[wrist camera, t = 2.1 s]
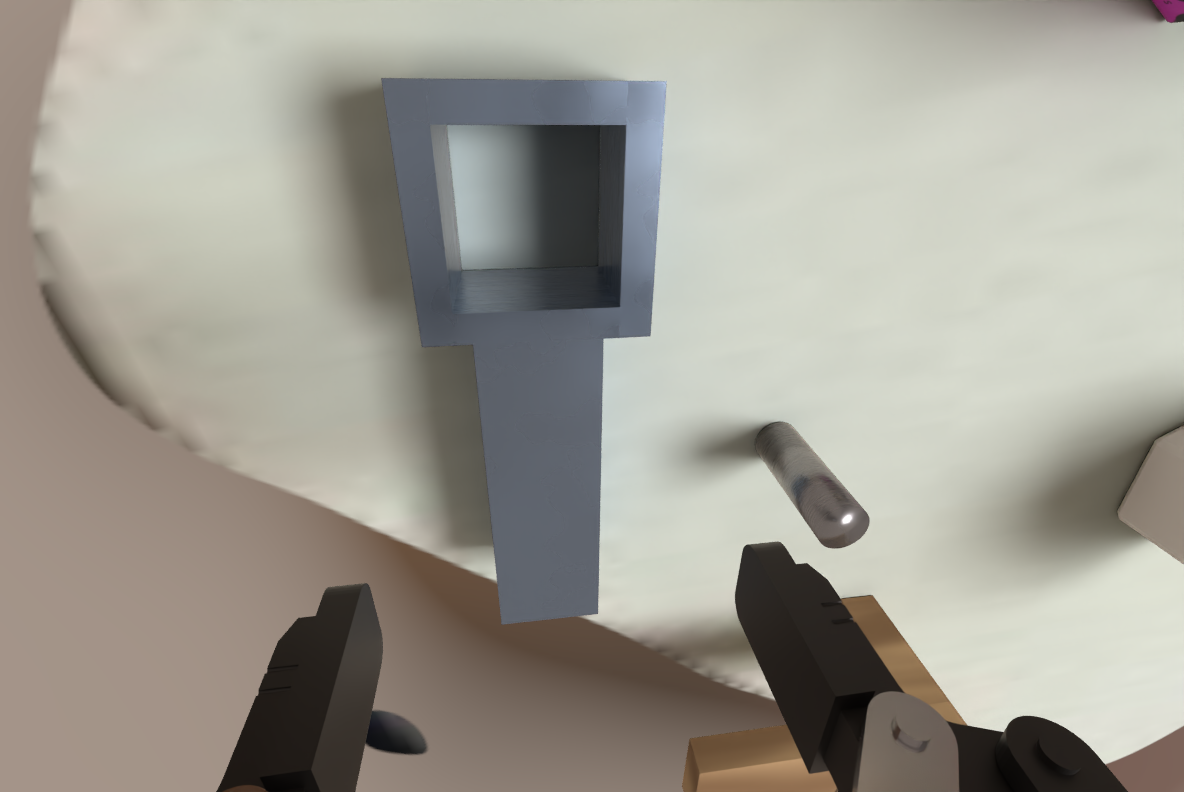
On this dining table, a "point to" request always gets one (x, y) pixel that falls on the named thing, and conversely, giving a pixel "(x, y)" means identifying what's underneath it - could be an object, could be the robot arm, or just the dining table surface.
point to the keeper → (769, 755)
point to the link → (535, 316)
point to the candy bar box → (1171, 9)
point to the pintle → (812, 486)
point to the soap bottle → (1159, 495)
